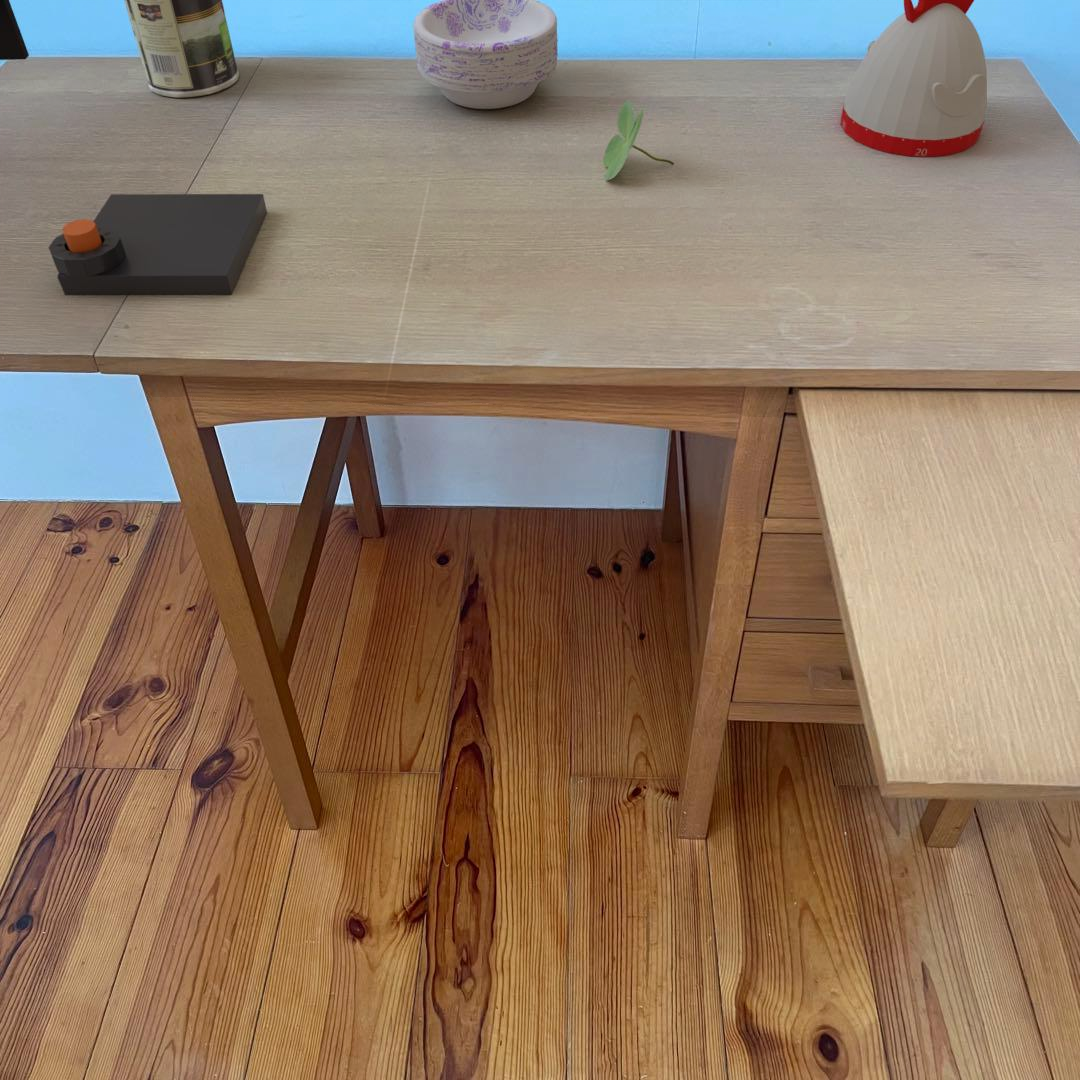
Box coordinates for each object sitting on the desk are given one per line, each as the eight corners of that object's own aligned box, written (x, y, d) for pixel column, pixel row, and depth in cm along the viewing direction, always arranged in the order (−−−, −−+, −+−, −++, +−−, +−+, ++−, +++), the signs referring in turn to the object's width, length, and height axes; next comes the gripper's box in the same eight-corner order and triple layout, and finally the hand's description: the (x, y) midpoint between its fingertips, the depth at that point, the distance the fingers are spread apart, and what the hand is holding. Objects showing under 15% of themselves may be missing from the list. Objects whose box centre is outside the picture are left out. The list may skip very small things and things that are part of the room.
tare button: (64, 254, 82) (57, 234, 81) (75, 238, 84) (68, 218, 82) (96, 254, 82) (89, 234, 81) (106, 238, 84) (99, 218, 82)
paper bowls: (457, 134, 104) (451, 54, 98) (398, 83, 113) (389, 7, 108) (583, 102, 109) (584, 24, 103) (516, 57, 118) (514, -17, 113)
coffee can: (239, 59, 119) (210, -77, 109) (239, 93, 112) (208, -48, 102) (149, 67, 117) (111, -70, 107) (144, 102, 110) (102, -40, 100)
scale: (54, 297, 83) (39, 259, 81) (109, 213, 93) (97, 177, 91) (231, 297, 83) (221, 259, 80) (267, 213, 93) (259, 176, 90)
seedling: (642, 216, 101) (588, 189, 98) (659, 143, 102) (607, 113, 99) (684, 196, 95) (628, 167, 92) (703, 118, 96) (648, 86, 93)
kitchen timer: (1007, 143, 101) (1061, -21, 90) (888, 166, 98) (929, -1, 87) (926, 91, 110) (966, -64, 99) (815, 110, 107) (844, -47, 96)
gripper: (-119, -322, 53) (33, 88, 68) (42, -364, 70) (134, -30, 86) (-261, -319, 53) (-77, 90, 68) (-65, -362, 70) (47, -28, 86)
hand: (41, 24), depth 77 cm, fingers open, 13 cm apart
